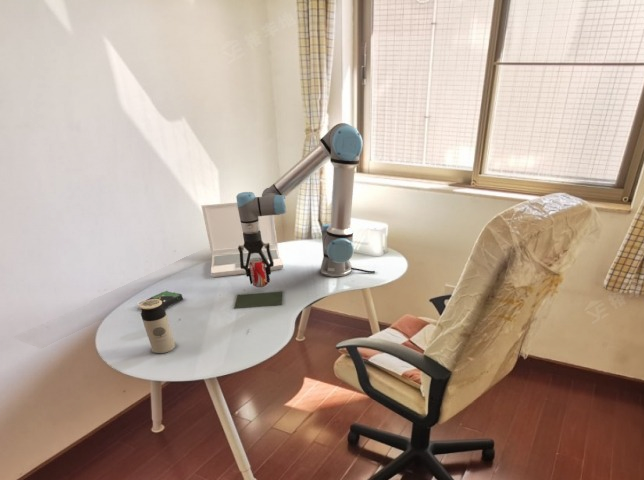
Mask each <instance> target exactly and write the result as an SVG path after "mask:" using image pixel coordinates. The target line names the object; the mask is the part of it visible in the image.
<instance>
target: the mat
mask: <svg viewBox="0 0 644 480" xmlns="http://www.w3.org/2000/svg"><path fill="white" fill-rule="evenodd" d="M282 305H283V291H271V292H270V291H269V292H258V293H244V294H237V295H236V300H235V303H234V307H233V309H245V308H258V307H259V308H261V307H271V306H273V307H274V306H282Z"/></svg>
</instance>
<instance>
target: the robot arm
mask: <svg viewBox="0 0 644 480" xmlns="http://www.w3.org/2000/svg"><path fill="white" fill-rule="evenodd" d="M363 145H364V141H363V137H362V135H361V133H360V132H359V130H358V129H357V128H356V127H354V126H352V125H350V124H348V123H345V122H342V123H341V122H340V123H337V124H336V125H334V126H333V127H331V128H330V129H329V131H327V132H326V133H325V135H323V136H322V137H321V138H320V139H319V140H318V144H317V145H316V146H315V147H313V149H311V151H309V152H308V153H307V154H306V155H305V156H304V157H302V158H301V159H300V160H299V161H297V162H296V163H295V164H294V165H293V166H292V167H291V168H290V169H289V170H287V171H286V172H285V173H284V174H283V175H282V176H281V177H279V179H277V180H276V181H275V182H273V184H271V186H269V187H266V188H265V189H263V191H262V193H261V196H256V195H255V193H254V192H253V191H243V192H240V193H238V194H237V195H236V202H237V206H238V211H239V216H240V221H241V227H242V231H243V238H244V245H239V246H238V250H239V252H240V266H241V269H245V271H246V274H245V275H246V277H247V278H249V283H250V285H253V283H252V279H251V273H250V268H248V266H249V261H250V256H251V254H253V253H259V255H260V256H261V258H262V260H263V261H264V263H265V265H266V266H267V267H266V274H267V280H268V284H269V283H270V281H271V279H270V275H271V274H272V271H271V269H270V267H272V266H274V262H273V259H272V255H271V252H270V244H269V243H267V244H266V243H263V242H262V238H261V232H260V231H259V230H260V226H259V220H258V216H268V215H274V216H280V215H284V214H286V213H287V209H286V198H287V197H289V196H290V195H291V194H292V193H293V192H294V191H295V190H297V189H298V188H299V187H300V186H301V185H302V184H303V183H306V181H307V180H308V179H309V178H311V177H312V176H313V175H314V174H316V172H318V171H319V170H320V169H321V168H323V166H325V165H326V164H327V163H328V162H330V163H331V165H332V166H333V173H332V176H333V177H332V191H331V209H330V210H331V212H330V223H324V224H323V225H322V226H321V238H322V239H321V241H322V256H323V257H322V261H321V265H320V273H321V275H323V276H325V277H329V278H341V277H345V276H348V275H350V274H351V273H352V272H353V271H357V272H363V273H367V274H375V273H376V270H366V269H362V268H356V267H353V266H352V263H351V261H350V259H351V258H352V257H353V256H354V252H355V248H354V245H353V238H354V230H353V229H352V228H351V220H352V219H351V218H352V207H353V195H354V183H355V170H356V168H357V167H358V166H359V165H360V164H359V163H360V155H361V153H362V150H363ZM263 246H264V247H265V249H267V254H268V257H269V261H270V264H269V262H268V260H267V259H266V257H265V255H264V254H263V251H262V250H261V249H262V247H263ZM244 248H245V249H246V250H247V251H248V256H247V261H246V266H245V265H244V259H243V250H244Z"/></svg>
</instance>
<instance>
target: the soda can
mask: <svg viewBox="0 0 644 480" xmlns="http://www.w3.org/2000/svg"><path fill="white" fill-rule="evenodd" d="M249 267H250V273H251V279H252V286H253V287H255V288H265V287H266V286H267V285H268V284H269V283H268V280H267V274H266V266H265V263H264V261H263V260H262V258H252V259H250V263H249Z"/></svg>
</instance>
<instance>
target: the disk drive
mask: <svg viewBox="0 0 644 480" xmlns="http://www.w3.org/2000/svg"><path fill="white" fill-rule="evenodd" d="M150 299H159V300H161V301H162V307H163V308H164V309H165V310H166V309H167V308H169V307H171V306H173V305H175V304H178V303H179V302H181V301H182V300H184V298H183V294H181V293H177V292H175V291H174V292H173V291H168V290H165V291H162V292H160V293H158V294H156V295H153V296H151V297H149V298H146V299H145V300H144V301H146V300H150ZM142 302H143V301H140V302H139V304H140V303H142ZM139 304H138V305H139Z"/></svg>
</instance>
